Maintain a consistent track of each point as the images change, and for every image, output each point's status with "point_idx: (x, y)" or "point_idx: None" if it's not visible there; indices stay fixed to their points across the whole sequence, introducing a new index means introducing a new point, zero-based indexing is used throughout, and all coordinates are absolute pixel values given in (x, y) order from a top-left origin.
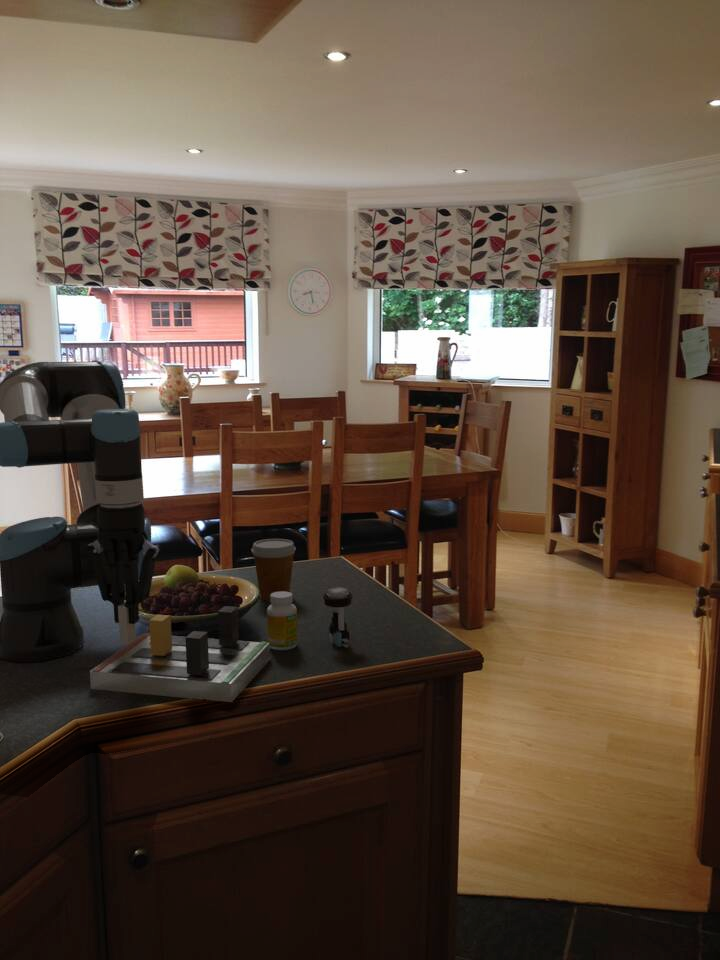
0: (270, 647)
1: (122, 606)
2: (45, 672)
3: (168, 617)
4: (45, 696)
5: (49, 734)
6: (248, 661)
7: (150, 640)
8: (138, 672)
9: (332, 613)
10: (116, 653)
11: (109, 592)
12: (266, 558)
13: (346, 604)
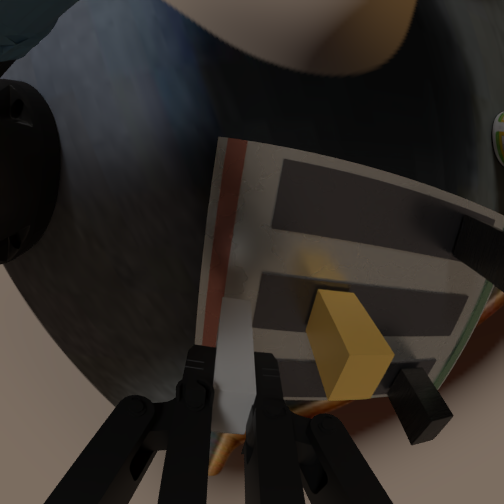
0: (497, 156)
1: (227, 431)
2: (69, 296)
3: (387, 366)
4: (137, 384)
5: (213, 453)
6: (478, 317)
7: (314, 355)
8: (297, 396)
9: None
10: (205, 316)
11: (142, 443)
12: None
13: None
